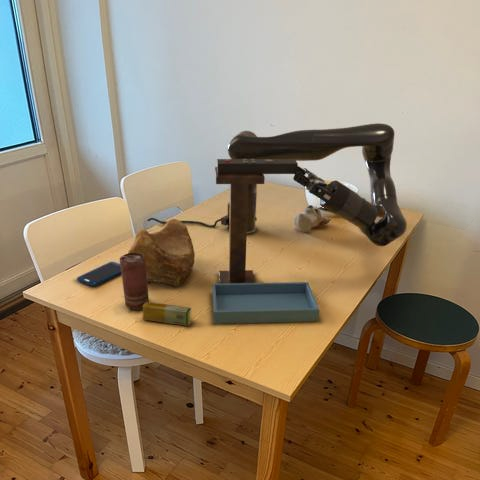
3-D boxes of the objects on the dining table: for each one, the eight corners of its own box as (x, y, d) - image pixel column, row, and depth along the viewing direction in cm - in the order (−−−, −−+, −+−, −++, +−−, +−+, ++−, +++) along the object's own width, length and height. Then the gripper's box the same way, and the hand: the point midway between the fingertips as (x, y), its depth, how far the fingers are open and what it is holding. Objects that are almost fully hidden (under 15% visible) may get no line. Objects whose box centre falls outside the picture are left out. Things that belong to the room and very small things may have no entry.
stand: (216, 291, 134) (216, 177, 117) (215, 275, 143) (214, 166, 125) (259, 290, 135) (264, 177, 118) (255, 274, 144) (260, 166, 126)
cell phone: (76, 280, 138) (75, 277, 137) (112, 263, 148) (112, 260, 147) (93, 287, 134) (93, 285, 134) (129, 269, 144) (129, 267, 144)
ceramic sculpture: (288, 205, 169) (309, 197, 179) (285, 229, 173) (306, 220, 184) (314, 213, 163) (335, 204, 174) (311, 237, 168) (331, 227, 178)
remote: (217, 174, 119) (217, 162, 118) (217, 169, 123) (217, 158, 121) (296, 174, 121) (297, 162, 119) (294, 169, 124) (295, 158, 123)
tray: (214, 323, 121) (213, 312, 119) (212, 294, 133) (212, 283, 131) (318, 321, 123) (319, 309, 121) (306, 292, 135) (308, 281, 133)
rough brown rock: (165, 304, 129) (167, 254, 121) (119, 283, 136) (117, 234, 127) (213, 273, 147) (217, 228, 139) (169, 256, 153) (171, 211, 145)
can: (126, 299, 130) (120, 252, 122) (149, 298, 130) (145, 251, 123) (123, 311, 125) (117, 262, 117) (148, 310, 125) (143, 262, 117)
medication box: (191, 321, 121) (191, 307, 119) (188, 326, 119) (188, 312, 117) (146, 315, 123) (145, 300, 121) (142, 319, 121) (141, 305, 119)
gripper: (343, 181, 132) (295, 150, 127) (357, 198, 120) (306, 165, 115) (327, 203, 135) (279, 175, 130) (339, 222, 124) (288, 191, 118)
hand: (292, 170), depth 122 cm, fingers open, 8 cm apart
